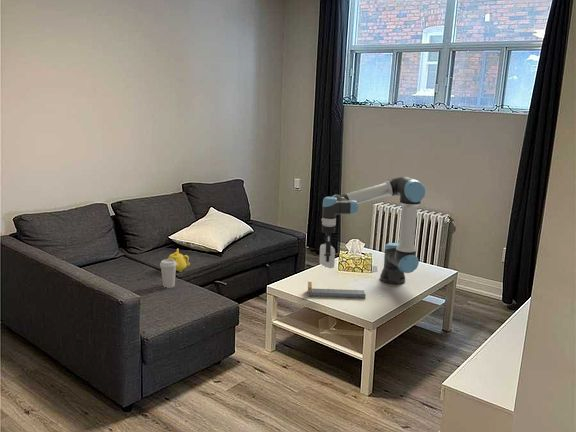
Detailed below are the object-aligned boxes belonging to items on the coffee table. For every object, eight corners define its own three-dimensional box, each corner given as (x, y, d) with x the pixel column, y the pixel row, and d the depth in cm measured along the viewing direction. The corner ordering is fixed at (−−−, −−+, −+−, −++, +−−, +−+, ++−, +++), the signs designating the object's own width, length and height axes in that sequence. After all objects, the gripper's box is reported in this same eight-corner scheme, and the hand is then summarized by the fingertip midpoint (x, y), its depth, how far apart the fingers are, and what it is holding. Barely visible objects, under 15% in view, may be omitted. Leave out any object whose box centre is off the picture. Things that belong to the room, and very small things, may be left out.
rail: (363, 292, 316) (364, 283, 315) (365, 298, 307) (365, 289, 306) (307, 290, 317) (308, 281, 315) (307, 296, 308) (308, 287, 307)
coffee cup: (180, 284, 321) (180, 260, 317) (170, 290, 312) (170, 264, 309) (167, 282, 325) (166, 257, 321) (156, 287, 316) (156, 262, 313)
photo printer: (318, 263, 312) (319, 242, 309) (324, 262, 314) (325, 241, 311) (329, 269, 304) (330, 247, 301) (335, 267, 306) (336, 246, 303)
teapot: (188, 275, 337) (188, 257, 334) (164, 275, 335) (163, 257, 333) (191, 264, 356) (190, 247, 354) (167, 265, 355) (167, 247, 352)
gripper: (321, 220, 314) (319, 257, 320) (322, 230, 293) (320, 270, 298) (334, 220, 314) (332, 258, 319) (336, 230, 293) (334, 270, 298)
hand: (326, 263), depth 309 cm, fingers closed on photo printer, 9 cm apart
